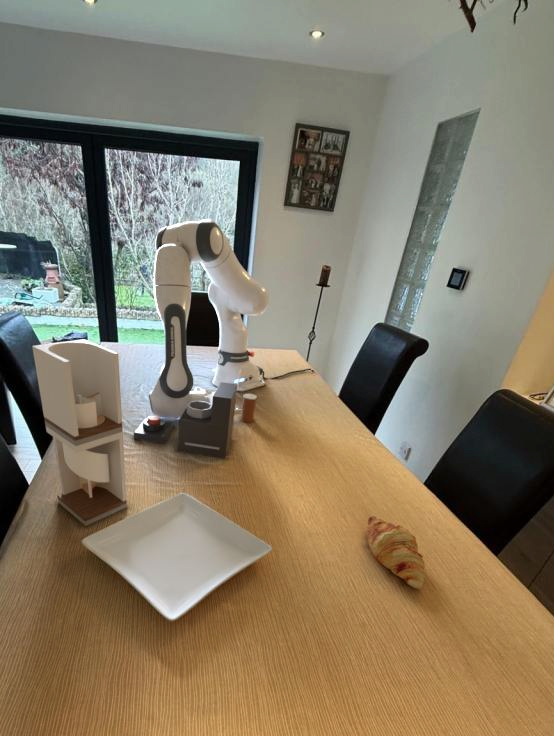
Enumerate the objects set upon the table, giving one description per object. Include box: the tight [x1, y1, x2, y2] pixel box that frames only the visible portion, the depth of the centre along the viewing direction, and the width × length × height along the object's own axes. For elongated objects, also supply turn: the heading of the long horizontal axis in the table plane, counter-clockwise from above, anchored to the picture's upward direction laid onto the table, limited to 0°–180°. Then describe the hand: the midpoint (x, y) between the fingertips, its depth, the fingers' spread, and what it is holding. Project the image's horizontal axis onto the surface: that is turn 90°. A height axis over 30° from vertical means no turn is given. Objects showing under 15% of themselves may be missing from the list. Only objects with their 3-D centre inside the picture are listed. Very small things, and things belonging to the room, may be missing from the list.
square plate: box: [81, 492, 273, 622], centre depth 82 cm, size 27×27×4 cm
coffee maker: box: [177, 382, 238, 459], centre depth 120 cm, size 12×14×18 cm
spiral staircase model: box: [31, 338, 128, 527], centre depth 86 cm, size 11×11×35 cm
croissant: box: [366, 515, 426, 590], centre depth 88 cm, size 21×10×8 cm, turn 11°
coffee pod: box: [240, 393, 258, 423], centre depth 141 cm, size 5×5×8 cm
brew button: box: [147, 414, 161, 425], centre depth 126 cm, size 4×4×2 cm
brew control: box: [133, 417, 174, 444], centre depth 127 cm, size 11×9×4 cm
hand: (239, 405), depth 141 cm, fingers open, 8 cm apart
